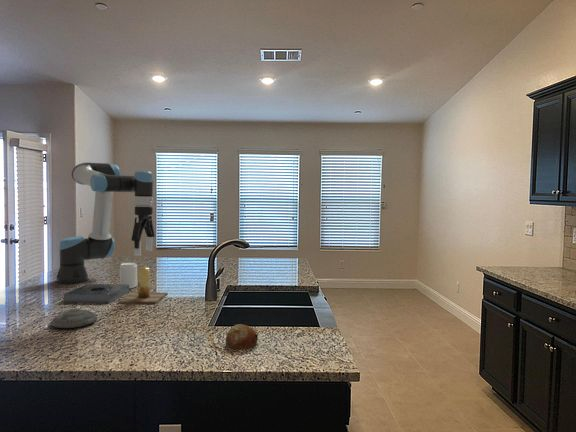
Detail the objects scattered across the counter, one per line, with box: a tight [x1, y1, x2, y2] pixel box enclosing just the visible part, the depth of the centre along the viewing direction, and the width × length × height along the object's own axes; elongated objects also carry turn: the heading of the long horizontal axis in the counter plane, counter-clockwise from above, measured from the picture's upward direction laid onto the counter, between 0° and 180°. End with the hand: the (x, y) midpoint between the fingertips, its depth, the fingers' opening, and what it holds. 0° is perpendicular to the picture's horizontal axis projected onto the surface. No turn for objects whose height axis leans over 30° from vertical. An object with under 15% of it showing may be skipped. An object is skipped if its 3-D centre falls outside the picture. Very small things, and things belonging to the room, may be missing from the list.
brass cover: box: [137, 266, 151, 298], centre depth 178 cm, size 5×5×13 cm
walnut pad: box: [118, 291, 169, 305], centre depth 178 cm, size 16×16×1 cm
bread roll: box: [225, 323, 259, 350], centre depth 127 cm, size 10×10×8 cm
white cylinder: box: [119, 262, 138, 290], centre depth 199 cm, size 8×8×12 cm
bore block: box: [62, 283, 130, 304], centre depth 181 cm, size 20×20×4 cm
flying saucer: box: [50, 308, 98, 329], centre depth 144 cm, size 15×15×6 cm
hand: (143, 253), depth 178 cm, fingers open, 13 cm apart
